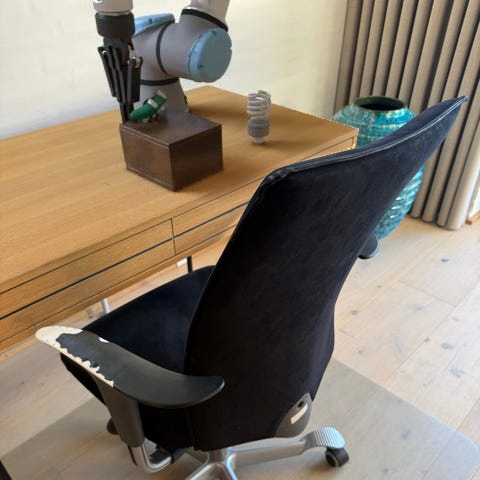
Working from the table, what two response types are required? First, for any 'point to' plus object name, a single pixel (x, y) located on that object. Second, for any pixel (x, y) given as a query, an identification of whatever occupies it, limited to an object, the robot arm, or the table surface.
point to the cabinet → (173, 148)
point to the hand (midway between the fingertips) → (130, 132)
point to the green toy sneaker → (149, 107)
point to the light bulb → (258, 124)
